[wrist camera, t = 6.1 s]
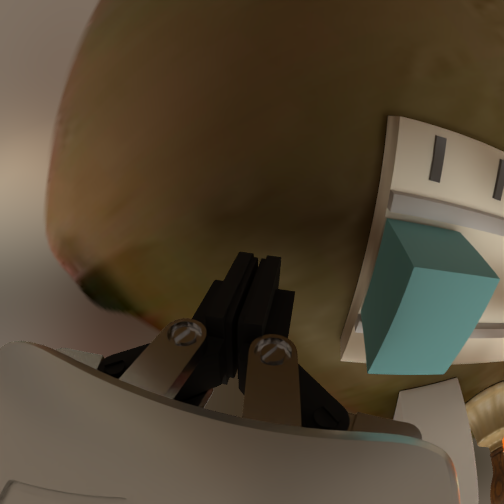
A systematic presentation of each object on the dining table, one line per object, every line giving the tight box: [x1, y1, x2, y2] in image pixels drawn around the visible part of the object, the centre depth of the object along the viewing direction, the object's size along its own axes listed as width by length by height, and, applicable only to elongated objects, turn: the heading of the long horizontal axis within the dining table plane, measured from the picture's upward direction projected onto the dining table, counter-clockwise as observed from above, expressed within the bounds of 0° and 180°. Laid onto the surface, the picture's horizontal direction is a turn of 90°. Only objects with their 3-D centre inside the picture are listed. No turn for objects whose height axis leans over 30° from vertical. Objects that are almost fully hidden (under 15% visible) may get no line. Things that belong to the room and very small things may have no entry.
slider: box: [361, 218, 500, 375], centre depth 10 cm, size 5×4×4 cm
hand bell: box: [465, 381, 504, 504], centre depth 12 cm, size 8×8×16 cm
